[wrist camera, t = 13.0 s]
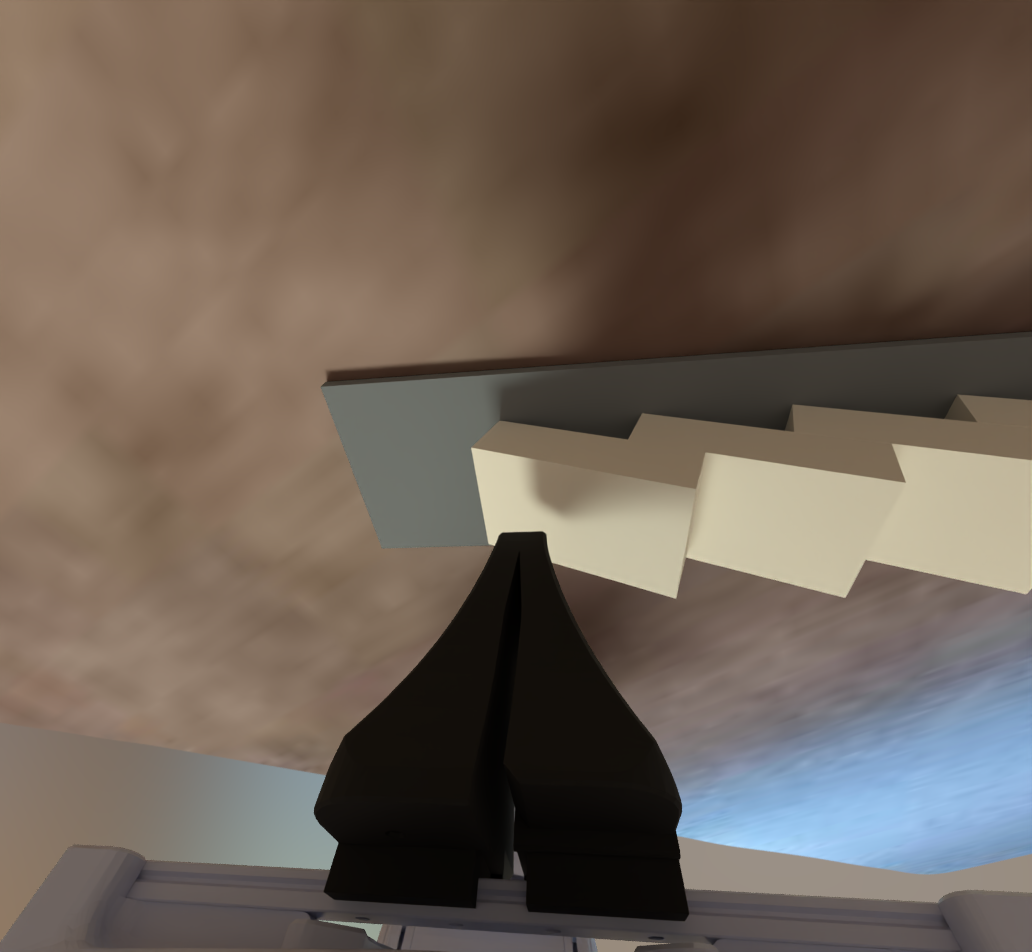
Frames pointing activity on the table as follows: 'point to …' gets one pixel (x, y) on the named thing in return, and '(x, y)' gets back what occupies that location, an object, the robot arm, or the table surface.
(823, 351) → the mat
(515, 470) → the domino
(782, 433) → the domino
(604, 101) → the table surface
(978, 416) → the domino
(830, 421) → the domino
